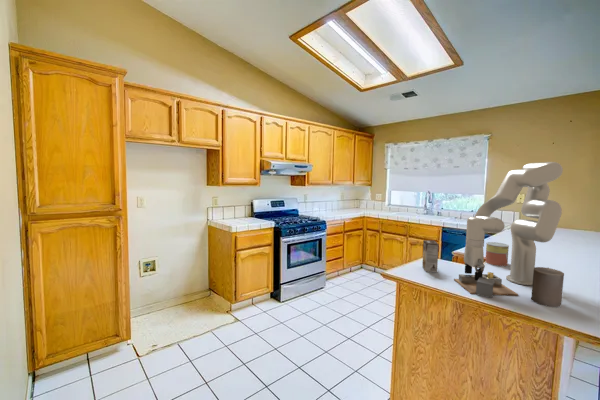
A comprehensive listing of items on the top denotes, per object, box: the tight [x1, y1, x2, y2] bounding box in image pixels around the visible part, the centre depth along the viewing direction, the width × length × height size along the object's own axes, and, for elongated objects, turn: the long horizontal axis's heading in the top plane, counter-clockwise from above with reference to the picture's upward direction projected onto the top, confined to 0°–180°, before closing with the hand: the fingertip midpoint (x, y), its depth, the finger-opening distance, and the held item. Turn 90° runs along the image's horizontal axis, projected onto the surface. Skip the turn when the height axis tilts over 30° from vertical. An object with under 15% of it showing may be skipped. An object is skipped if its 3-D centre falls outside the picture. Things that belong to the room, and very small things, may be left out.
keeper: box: [475, 277, 495, 299], centre depth 127 cm, size 7×6×6 cm
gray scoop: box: [458, 273, 503, 286], centre depth 139 cm, size 17×7×3 cm, turn 84°
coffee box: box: [422, 239, 440, 273], centre depth 161 cm, size 9×6×16 cm
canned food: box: [484, 241, 510, 267], centre depth 173 cm, size 11×11×12 cm
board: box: [453, 278, 519, 297], centre depth 135 cm, size 20×17×1 cm
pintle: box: [487, 271, 495, 278], centre depth 138 cm, size 2×2×5 cm
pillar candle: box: [530, 266, 565, 308], centre depth 119 cm, size 10×10×15 cm
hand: (473, 276), depth 139 cm, fingers open, 9 cm apart
